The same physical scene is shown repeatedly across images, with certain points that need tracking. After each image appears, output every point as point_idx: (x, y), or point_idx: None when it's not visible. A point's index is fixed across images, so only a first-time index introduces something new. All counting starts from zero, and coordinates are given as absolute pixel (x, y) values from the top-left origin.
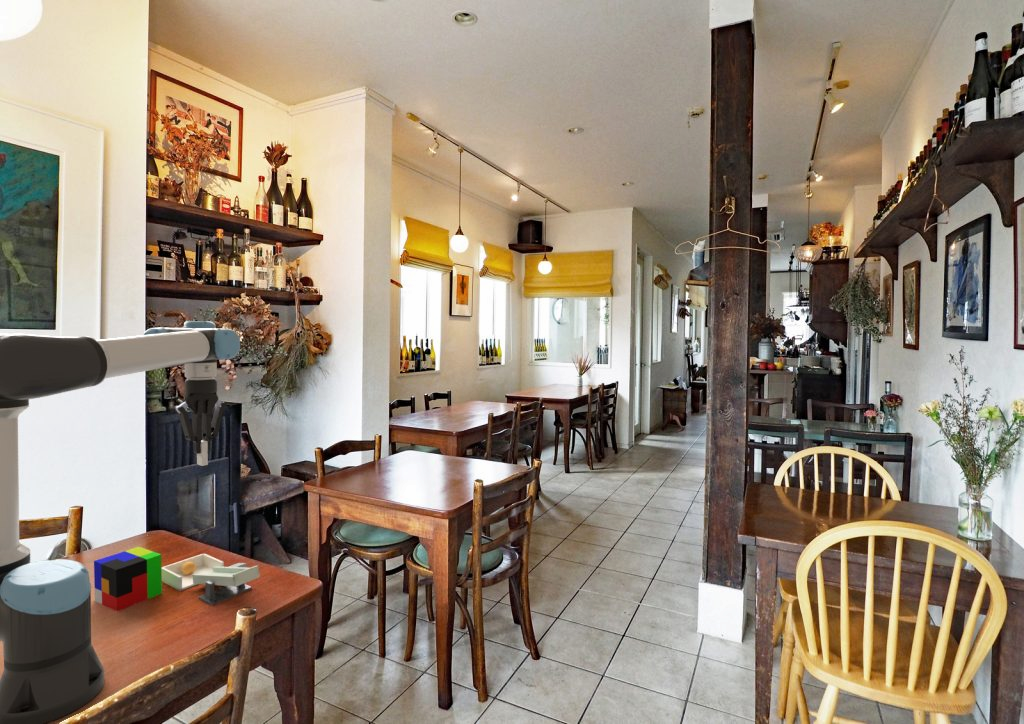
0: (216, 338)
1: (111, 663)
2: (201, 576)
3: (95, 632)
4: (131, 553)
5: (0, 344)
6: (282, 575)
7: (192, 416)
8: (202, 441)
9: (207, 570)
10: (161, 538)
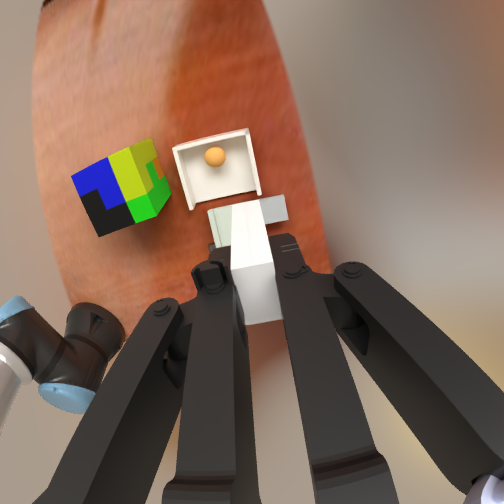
0: None
1: (125, 312)
2: (214, 239)
3: (105, 249)
4: (116, 176)
5: None
6: (318, 249)
7: (179, 481)
8: (255, 311)
9: (243, 161)
10: None
